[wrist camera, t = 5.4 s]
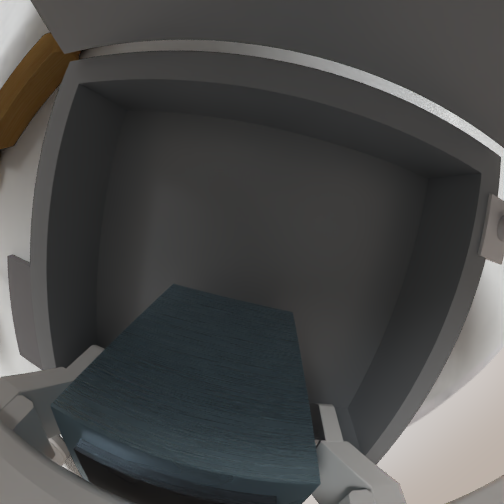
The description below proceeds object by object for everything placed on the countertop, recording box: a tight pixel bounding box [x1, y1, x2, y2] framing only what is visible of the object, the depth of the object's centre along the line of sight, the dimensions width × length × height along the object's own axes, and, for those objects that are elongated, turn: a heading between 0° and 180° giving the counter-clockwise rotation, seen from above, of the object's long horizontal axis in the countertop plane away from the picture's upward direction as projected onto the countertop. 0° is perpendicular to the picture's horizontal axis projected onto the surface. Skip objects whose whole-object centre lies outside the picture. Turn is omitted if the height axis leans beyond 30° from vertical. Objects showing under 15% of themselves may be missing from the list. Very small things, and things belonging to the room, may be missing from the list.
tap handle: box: [0, 33, 81, 149], centre depth 10 cm, size 3×3×30 cm
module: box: [50, 283, 321, 504], centre depth 7 cm, size 4×4×7 cm
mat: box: [8, 255, 43, 370], centre depth 15 cm, size 9×9×1 cm
